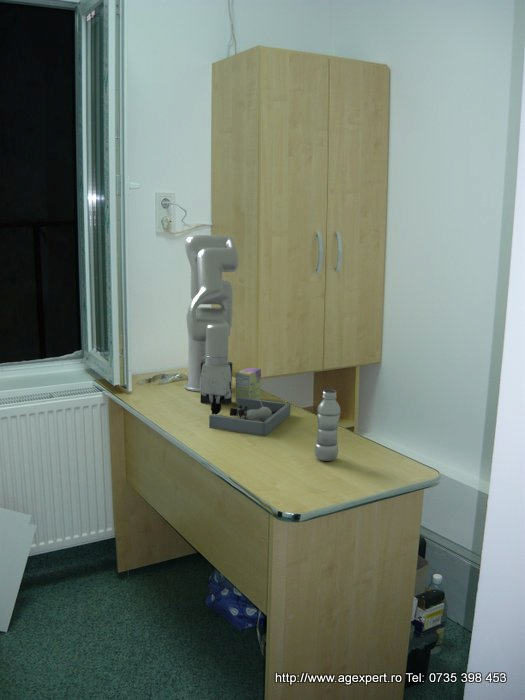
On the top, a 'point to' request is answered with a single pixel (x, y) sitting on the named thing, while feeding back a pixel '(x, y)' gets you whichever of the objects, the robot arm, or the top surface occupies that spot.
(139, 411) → the top surface
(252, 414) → the clip-on lamp
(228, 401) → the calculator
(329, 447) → the plastic bottle
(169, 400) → the top surface
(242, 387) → the box
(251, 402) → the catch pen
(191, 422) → the top surface
